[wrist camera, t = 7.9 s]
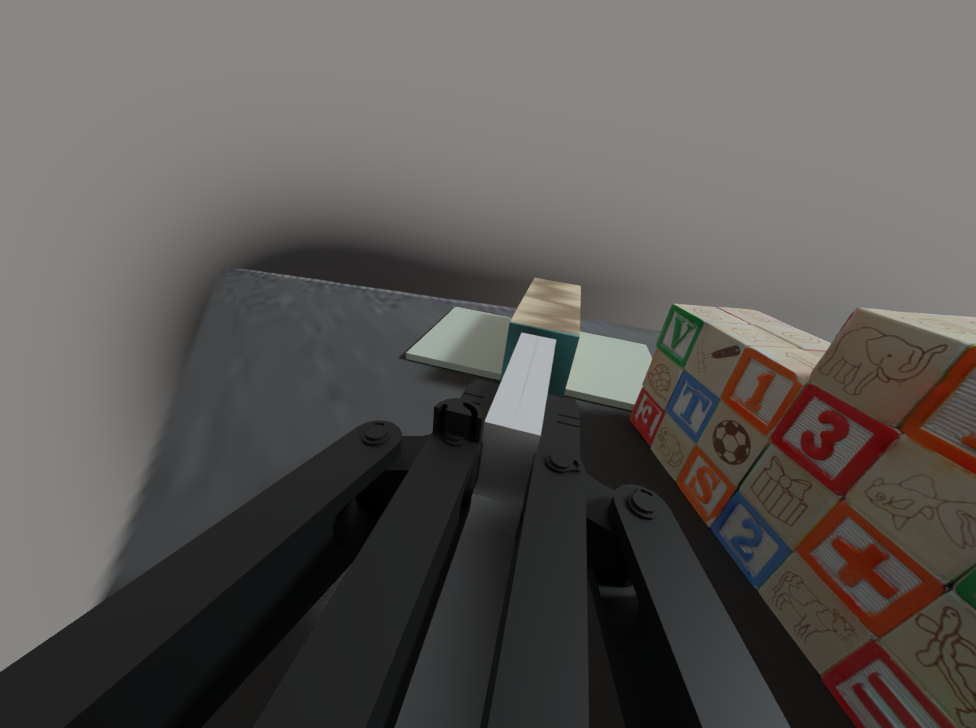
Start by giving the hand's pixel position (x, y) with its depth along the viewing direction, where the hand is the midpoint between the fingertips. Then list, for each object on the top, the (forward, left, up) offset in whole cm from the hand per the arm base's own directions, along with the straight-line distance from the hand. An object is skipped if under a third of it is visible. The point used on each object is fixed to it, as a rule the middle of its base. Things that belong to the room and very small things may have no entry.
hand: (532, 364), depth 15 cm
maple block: (0, -9, -4) cm, 10 cm away
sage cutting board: (0, -17, -8) cm, 19 cm away
